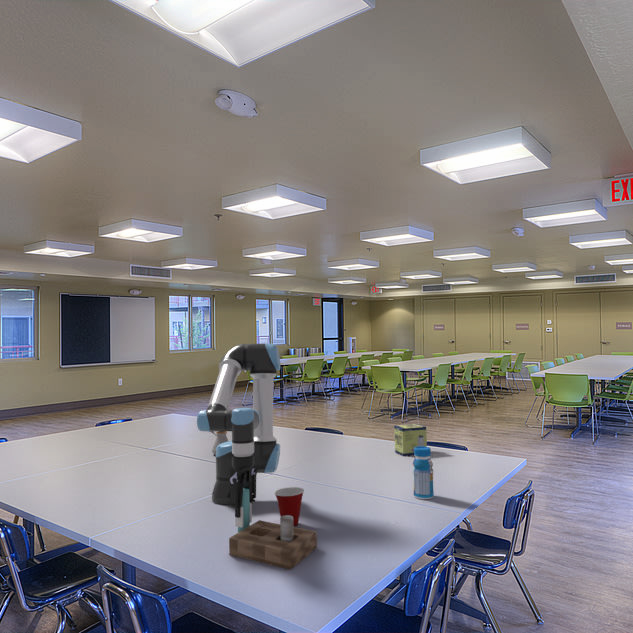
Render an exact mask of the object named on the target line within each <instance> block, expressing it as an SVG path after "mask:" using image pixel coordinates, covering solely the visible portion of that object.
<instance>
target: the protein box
mask: <svg viewBox="0 0 633 633" xmlns="http://www.w3.org/2000/svg"><path fill="white" fill-rule="evenodd" d="M393 430H394V452H395V453H396V454H398V455H399V456H402V457H409V456H415V455H414V448H415V447H418V446H425V447H428V442H427V440H428V439H427V426H424V425H421V424H420V423H419V424H418V423H412V424H399V425H397V424H396V425H394V429H393Z"/></svg>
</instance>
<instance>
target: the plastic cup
mask: <svg viewBox="0 0 633 633" xmlns="http://www.w3.org/2000/svg"><path fill="white" fill-rule="evenodd" d="M273 492H274V495H275V497H276V500H277V505H278V512H279V516H280V517H282V516H285V515H290V516H293V527H296V526H298V525H299V520H300V514H301V508H302V507H301V506H302V501H303V495H304V493H305V488H303V487H298V486H288V487H283V488H279V489H276V490H274V491H273Z"/></svg>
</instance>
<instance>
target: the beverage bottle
mask: <svg viewBox="0 0 633 633" xmlns="http://www.w3.org/2000/svg"><path fill="white" fill-rule="evenodd" d="M431 453H432V450H431V447H429V446H427V447H425V446H418V447H415V448H414V455H413V456H414V457H415V458H414V459H413V461H412V466H413V467H412V478H413V479H412V481H413V482H412V483H413V496H414V498H415V499H419V500H431V499H433V498H434V496H435V494H434V493H435V492H434V468H433V466H434V463H433V461H432V459H431V456H432V454H431Z"/></svg>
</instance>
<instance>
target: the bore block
mask: <svg viewBox="0 0 633 633" xmlns="http://www.w3.org/2000/svg"><path fill="white" fill-rule="evenodd" d="M317 535H318V534H317V531H316V530H310V529H305V528H300V527H296V526H294V527H293V516H290V515H285V516H282V517H281V516H280V523H275V522H270V521H265V520H260V519H259V520H257V521H255V522H253V523H252V524H250V526H249V527H247V528H245V529H244V530H242V531H240V532H238V531H237V532H236V533H235V534H233V535H232V536H230V537H229V538H228V544H229V546H228V549H229V551H228V552H229V553H228V555H229V556H234V557H238V558H243V559H245V560H250V561H254V562H258V563H261V564H266V565H270V566H275V567H278V568H281V569H286V570H290V571H291V570H292V569H293V568H295V567H296V566H297V565H298V564H300V562H302V561H303V560H304V559H305V558H307V557H308V556H309V555H310V554H311V553H313V552H314V551H315V550H316V549H317V548H318V544H317V542H318V539H317V537H318V536H317Z"/></svg>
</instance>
